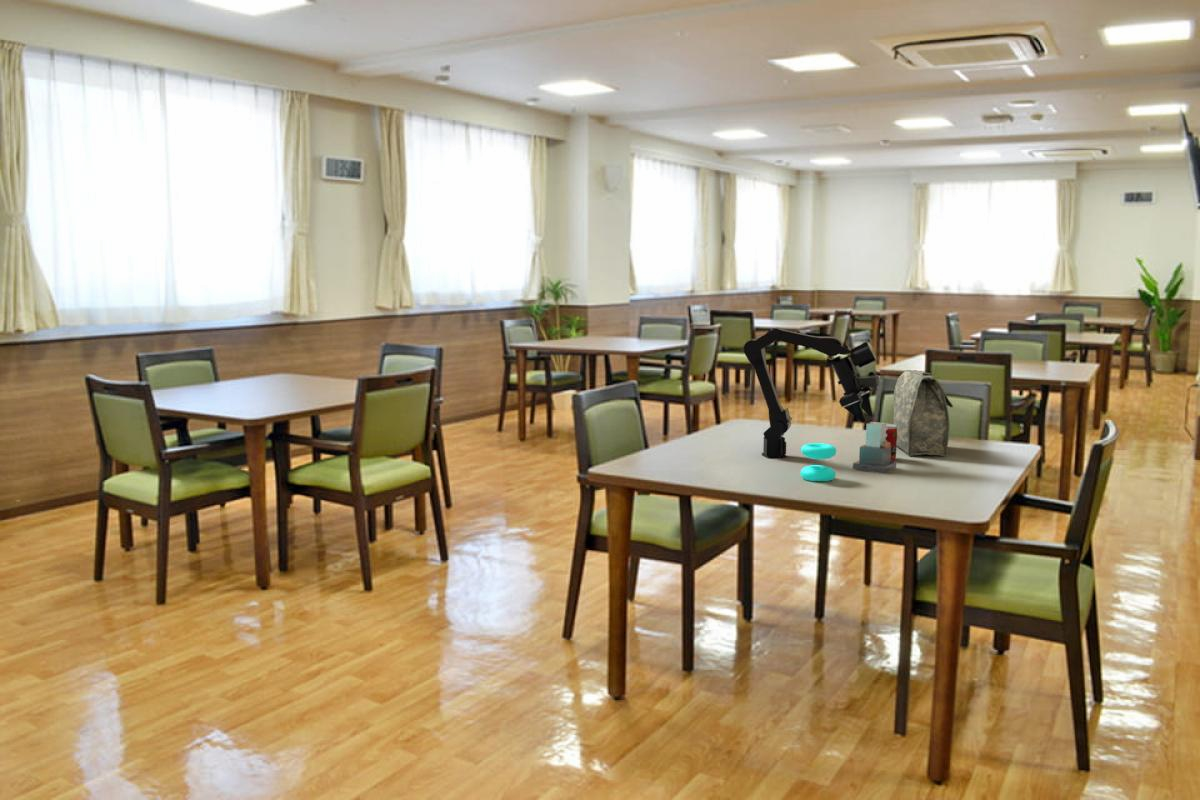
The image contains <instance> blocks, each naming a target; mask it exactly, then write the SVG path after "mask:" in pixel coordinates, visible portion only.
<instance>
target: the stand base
mask: <svg viewBox="0 0 1200 800" xmlns="http://www.w3.org/2000/svg"><path fill="white" fill-rule="evenodd" d="M890 444H891V442H886V443H885V445H884V447H883V448H872V447H866V443H865V444H863V445H860V446H859V459H858V460H857V461H854V462H852V470H853V469H856V470H855V471H861V470H864V471H863V472H869V471H871V472H872V473H877V472H878V473H879V474H887V473H889V472H890V471H892V470H894V469H896V468H897V462H898V461H896V460H893V461H891V446H890ZM871 472H870V473H871Z"/></svg>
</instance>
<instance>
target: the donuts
mask: <svg viewBox="0 0 1200 800" xmlns="http://www.w3.org/2000/svg"><path fill="white" fill-rule="evenodd" d="M800 449H801V450H800V451H801V453H802V455H803V456H805V457H807V458H808V459H813V460H828V459H831V458H832V457H834V456H835V455H836V453H837V449H836V447H835V446H834V445H833V444H828V443H822V442H812V443H811V442H810V443H805V444H803V445H802V446H801V448H800ZM800 476H801V478H802V479H803V480H805V481H810V482H815V481H825V482H830V480H831V481H832V480H834V479H835V478H836V472H835V470H834V469H833V468H832V467H830V466H826V465H823V464H822V465H821V464H820V465H819V464H818V465H817V464H814V465H813V464H812V465H807V466H804V467H802V469H801V470H800Z"/></svg>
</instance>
